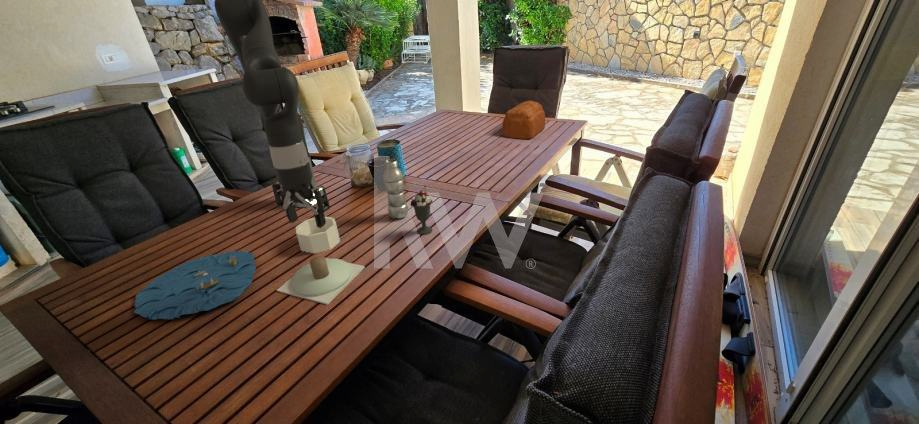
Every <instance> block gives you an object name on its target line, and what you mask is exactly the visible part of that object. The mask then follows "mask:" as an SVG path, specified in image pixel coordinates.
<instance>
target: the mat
mask: <svg viewBox="0 0 919 424" xmlns="http://www.w3.org/2000/svg"><path fill="white" fill-rule="evenodd" d="M325 258H326V259H329V258H328V257H325ZM347 263H348V264H349V266H350V270H351V275H350V278H349V279H348V281H347V282H346V283H345V284H344V285H343V286H341V287H340V288H338V289H337V290H335V291H332V292H330V293H327V294H324V295H319V296H304V295H300V294H298V293H297V292H295V291H294V289H293V287H292V283H291V280H292V277H290V279H288V280H287V281H286V282H285V283H283V284H282V285H281V286H279V288H277V289H276V292H278V291H279V293H283V294H286V295H290V296H293V297H297V298H300V299H305V300H308V301H312V302H315V303H320V304H323V305H327V306H328V305H330V303H331V302H332V301H333V300H334V299H335V298H336V297H337V296H338V295H339V294H340V293H341V292H342V291H343V290H344V289H345V288H346V287H347V286H349V284H350V283H351V282H352V281H353V280H354V279H355V278H357V276H358V275H359V274H361V272H362V271H363V270H364V269H365V268H366V267H365V265H361V264H356V263H353V262H352V263H351V262H347Z"/></svg>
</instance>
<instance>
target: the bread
mask: <svg viewBox="0 0 919 424" xmlns="http://www.w3.org/2000/svg"><path fill="white" fill-rule="evenodd" d="M501 128H502V129H501V130H502V135H503V137H504V138H512V139H520V140H530V139H531V140H532V139H533V138H534V137H535V136H536V135H537V134H539V133H540V132H541V131H543V130H544V129H545V128H546V112H545V110H544V109H543V105H542V104H540V103H539V102H537V101H533V100H525V101H522V102H520V103H519V104H518V105H517V104H516V106H514V107H512V108H511V109H509V110H507V111H506V113H504V117H503V121H502V127H501Z"/></svg>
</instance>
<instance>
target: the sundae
mask: <svg viewBox="0 0 919 424" xmlns="http://www.w3.org/2000/svg"><path fill="white" fill-rule="evenodd" d="M426 188H427V185H424V186H423V189H422V190H420V191H419V192H418V193H417V194H415V196H414V198H412V197H411V198H410V199H411V201H410V207H413V210H414V214H415V217H416V219H417V220H418V221H420V222H421V226H420V227H418V228H417V230H416V232H417V234H418V235H429V234H431V233H432V232H433V228H432V227H431V226H427V224H426V223H427V222H426V221H428V220H429V219H430V215H431V204H432V203H433V200H432V199H431V198H430V197H429V195H428V193H427V192H426V191H424V192H423V190H425V189H426Z"/></svg>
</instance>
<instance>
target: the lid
mask: <svg viewBox="0 0 919 424" xmlns="http://www.w3.org/2000/svg"><path fill="white" fill-rule="evenodd" d="M326 258H327V257H325V256H322V255H317V256H314V257H312V258H311V259H310V260H309V262H308V263H307V264H305V265H304V266H302V267H300V268H299V269H298V270H297V271H296V272H295V273H294V274H293V276H292V277H291V278H292V280H291V283H292V287H293V289H294V291H295V292H297V293H298V294H300V295H304V296H319V295H324V294H327V293H330V292H332V291H335V290H337V289H338V288H340V287H341V286H343V285H344V284H345V283H346V282H347V281H348V279H349V278H350V275H351V270H350V266H349V264H348V263H349V262H347V261H345V260H343V259H339V258H328V259H326Z"/></svg>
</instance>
